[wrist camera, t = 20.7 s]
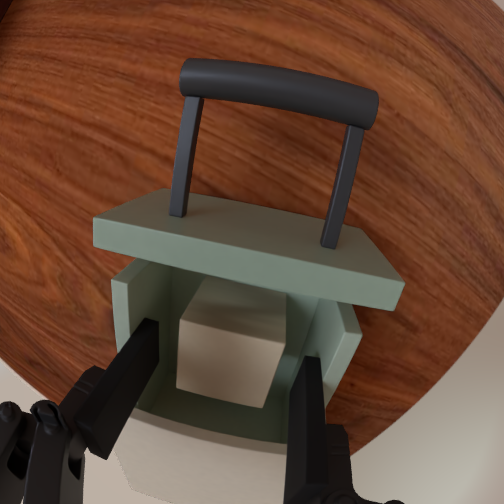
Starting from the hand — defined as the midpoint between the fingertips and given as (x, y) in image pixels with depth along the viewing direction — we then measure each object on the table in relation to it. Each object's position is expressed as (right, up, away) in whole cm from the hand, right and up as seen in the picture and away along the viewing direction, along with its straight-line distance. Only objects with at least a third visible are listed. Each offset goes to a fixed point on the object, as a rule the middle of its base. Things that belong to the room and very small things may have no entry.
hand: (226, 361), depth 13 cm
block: (0, +1, +4) cm, 4 cm away
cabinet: (-1, -8, +10) cm, 12 cm away
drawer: (+1, +4, +4) cm, 6 cm away
